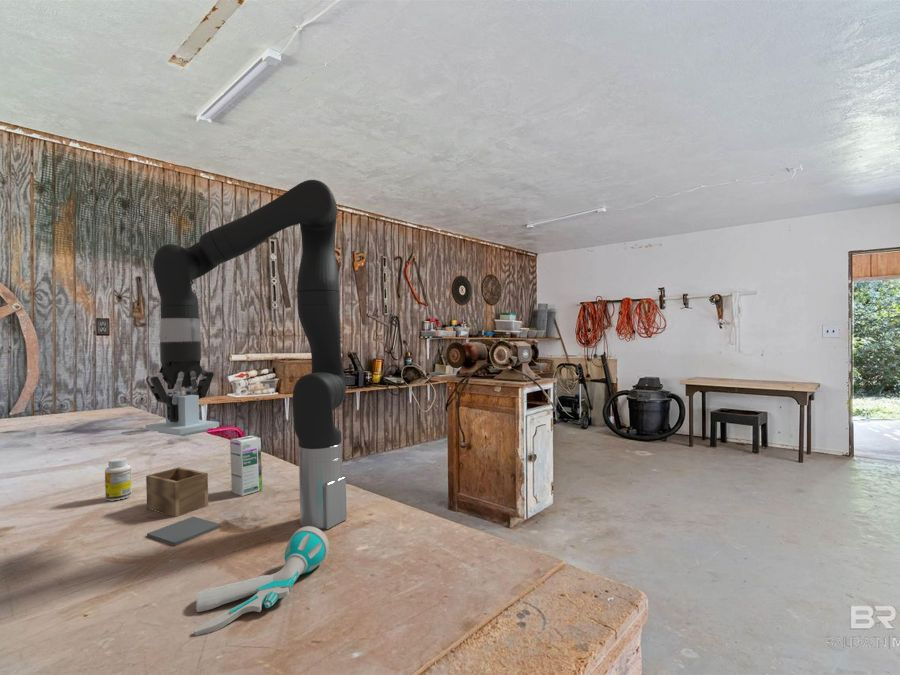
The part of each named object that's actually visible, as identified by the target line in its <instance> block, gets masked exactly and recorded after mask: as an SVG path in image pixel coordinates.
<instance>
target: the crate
mask: <svg viewBox="0 0 900 675" xmlns="http://www.w3.org/2000/svg"><path fill="white" fill-rule="evenodd" d="M145 477H146V478H145V480H146V484H145V485H146V488H145V489H146V490H145V491H146V509H147V508H150V509H153V510H152V511H154V510H156V511H155V512H157V511H159V512H158V513H161V512H162V513H161V514H164V513H165V514H164V515H168V516H171V517H179V516H183V515H185V514H188V513H190V512H194V511H196V510H199V509H202V508H204V507H207V505H208V506H209V480H208V478H209V474H208V472H204V471H199V470H194V469H189V468H183V467H174V468H171V469H167V470H164V471H159V472H156V473H152V474H149V475H146V476H145ZM150 509H149V510H150Z"/></svg>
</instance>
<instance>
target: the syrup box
mask: <svg viewBox="0 0 900 675" xmlns="http://www.w3.org/2000/svg"><path fill="white" fill-rule="evenodd" d="M261 439H262V438H261V437H259V436H256V435H247V436H243V437H238V438H232V439H231V438H230V440H229V454H230V476H231V478H230V479H231V480H230V481H231V483H230V484H231V493H233V494H236V496H237V495H238V496H240V497H244V496H247V495H249V494H250V495H251V494H253V493H257V491H258V492H261V491H262V490H263V476H262V474H263V472H262V471H263V469H262V441H261ZM260 490H261V491H260Z"/></svg>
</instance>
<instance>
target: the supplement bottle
mask: <svg viewBox="0 0 900 675" xmlns="http://www.w3.org/2000/svg"><path fill="white" fill-rule="evenodd" d="M104 479H105V480H104V482H105V483H104V486H105V489H104V490H105V500H106V501H108V500H109V501H108V502H115V501H114V500H118V501H121V500H120V499H123V500H126V499H128V498H130V497H131V496H132V494H133V493H132V489H133V488H132V466H131V465H130V464H128V458H127V457H116V458H111V459H109V460H108V467H106V468H105V469H104ZM125 498H126V499H125Z"/></svg>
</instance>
